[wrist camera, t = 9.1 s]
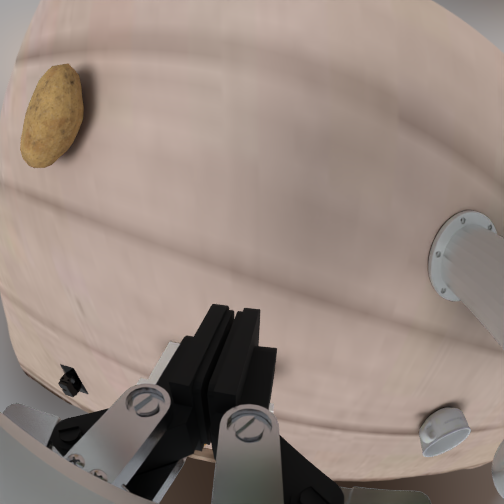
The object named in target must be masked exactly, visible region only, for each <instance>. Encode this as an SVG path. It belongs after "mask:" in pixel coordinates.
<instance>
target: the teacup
mask: <svg viewBox="0 0 504 504" xmlns="http://www.w3.org/2000/svg"><path fill="white" fill-rule="evenodd" d="M470 432H471V429H470V428H469V426H468V423H467V421H466V418H465V416H464V414H463V412H462V411H461V410H460V409H458V408H451V407H447V408H443V409H440V410H438V411H436V412H435V413H433V414H432V415H430V416H429V417H428V418H427V419H426V421H425V422H424V424H423V425H422V427H421V428H420V431H419V435H420V441H421V446H422V450H423V456H425V457H432V456H436V455H439V454H442V453H444V452H447V451H449V450H450V449H452V448H454V447H455V446H457V445H459V444H460V443H461V442H462V441H464V440H465V439H466V438H467V437H468V435H469V434H470Z"/></svg>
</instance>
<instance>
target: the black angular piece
mask: <svg viewBox="0 0 504 504" xmlns="http://www.w3.org/2000/svg"><path fill="white" fill-rule="evenodd" d="M60 365H61V364H60ZM61 367H62V369H63V371H64V373H65V374H64V375H63V376H62V377H61V379H60V382H59V383H58V384H59V385H60V387H61V388H63V389H62V390H63V392H64V393H65V394H66V395H68V396H71V397H74V396H76V395H77V393H78V392H79V391H80V392H83V393H86V394H88V392H87V391H86V389H85V387H84V386H83V384H82V382H81V380H80V379H79V377H78V375H77V373H76V371H75V370H74V368H71V367H68V366H64V365H61Z"/></svg>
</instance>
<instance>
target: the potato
mask: <svg viewBox="0 0 504 504" xmlns="http://www.w3.org/2000/svg"><path fill="white" fill-rule="evenodd" d="M83 109H84V107H83V100H82V90H81V82H80V78H79V75H78V74H77V73H76V71H75V70H74V69H73V68H72V67H71V66H70V65H69V64H62V65H57V66H52V67H51V68H50V69H49V70H48V71H47V72H46V73H45V74H44V75H43V76H42V78H41V79H40V80H39V82H38V84H37V86H36V89H35V91H34V93H33V96H32V98H31V100H30V103H29V106H28V109H27V112H26V115H25V120H24V125H23V131H22V136H21V146H20V150H21V154H22V157H23V159H24V160H25V162H26V163H27V164H28V165H29V166H31V167H33V168H45V167H47V166H50V165H52V164H53V163H54V162H55V161H56V160H57V159H58V158H59V157H60V156H62V155H63V154H64V153H65V152H66V151H67V150H68V149H69V147H70V146H71V145H72V143H73V142H74V139H75V137H76V135H77V133H78V131H79V128H80V125H81V123H82V120H83Z"/></svg>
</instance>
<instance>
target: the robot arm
mask: <svg viewBox="0 0 504 504" xmlns="http://www.w3.org/2000/svg"><path fill="white" fill-rule="evenodd" d="M428 272H429V278H430V281H431V284H432V286H433V287H434V289H435V290H436V292H437V293H438V294H439V295H440V296H441V297H443V298H444V299H446V300H449V301H462V302H463V304H464V305H465V306H466V307H467V308H468V309H469V310H470V311H471V312H472V313H473V314H474V315H475V317H476V318H477V319H478V320H479V321H480V322H481V323H482V325H483V326H484V327H485V328H486V329H487V330H488V331H489V333H490V334H491V335H492V336H493V337H494V339H495V340H496V341H497V342H498V344H499V345H500V346H501V347H502V348H503V350H504V238H503V237H501V236H499V235H498V234H497V232H496V229H495V227H494V224H493V223H492V222H491V220H490V219H489V218H488V217H487V216H485V215H484V214H482V213H480V212H477V211H473V210H471V211H463V212H460V213H458V214H456V215H454V216H453V217H451V218H450V219H449V220H448V221H447V222H446V223H445V224H444V225H443V227H442V228H441V229H440V231H439V232H438V234H437V236H436V238H435V240H434V242H433V244H432V248H431V251H430V255H429V262H428ZM259 326H260V309H251V308H244V310H243V312H241V311H238V312H237V314H236V317H235V319H234V311H233V310H229V306H225V305H218V304H212V306H211V307H210V309H209V311H208V313H207V314H206V316H205V318H204V320H203V321H202V323H201V325H200V327H199V328H198V330H197V332H196V334H195V335H194V337H192V336H185V337H184V338H183V340H182V341H181V343H180V345H179V346H178V348H177V350H176V351H175V353H174V355H173V356H172V358H171V360H170V361H169V363H168V364H167V366H166V368H165V369H164V371H163V373H162V374H161V376H160V378H159V379H158V381H157V383H156V384H155V385H154V384H146V383H144V384H138V385H135V386H133V387H130V388H129V389H128V390H126V391H125V392H124V393H123V394H122V395H121V396H120V397H119V399H118V400H117V401H116V402H115V403H114V404H113V405H112V406H111V407H110V408H109V409H105V410H101V411H97V412H93V413H89V414H85V415H80V416H76V417H71V418H67V419H65V420H61V419H60V418H59V417H58V416H54V415H51V414H48V413H45V412H42V411H39V410H37V409H34V408H31V407H28V406H26V405H23V404H19V403H15V404H11V405H10V406H8V407H7V408H6V409H5V410H4V412H3V414H2V413H1V412H0V504H159V502H160V501H161V499H162V498H163V496H164V494H165V493H166V491H167V490H168V488H169V487H170V485H171V484H172V482H173V480H174V479H175V477H176V476H177V474H178V473H179V471H180V469H181V468H182V466H183V464H184V463H185V460H186V457H187V456H190V455H192V454H194V452H195V450H198V451H202V450H203V447H204V444H208V445H210V443H212V449H213V455H214V459H215V460H216V466H215V476H214V484H213V494H212V503H211V504H431V501H430V499H429V498H428V496H427V495H425V494H424V493H422V492H418V491H399V490H396V491H395V490H382V489H370V488H361V487H353V488H352V489H350V488H343V487H339V486H338V485H337V484H336V483H335V482H334V481H332V480H331V479H330V478H329V477H327V476H326V475H325V474H324V473H322V472H321V471H320V470H319V469H318V468H316V467H315V466H314V465H313V464H312V463H310V462H309V461H308V460H307V459H306V458H305V457H303V456H302V455H301V454H300V453H299V452H298V451H297V450H296V449H294V448H293V447H292V446H291V445H290V444H289V443H288V442H287V441H286V440H285V439H284V438H282V437H281V436H280V435H279V425H278V421H277V418H276V417H275V416H274V414H273V413H272V412H271V411H269V405H270V399H271V392H272V386H273V379H274V371H275V363H276V354H277V348H270V347H261V346H258V343H259ZM492 476H493V481H494V484H495V487H496V488H497V491H498V492H499V494H500V495H501V496H502V498H503V499H504V440H503V441H502V442H501V444H500V445H499V447H498V449H497V451H496V453H495V456H494V459H493V464H492Z"/></svg>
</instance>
